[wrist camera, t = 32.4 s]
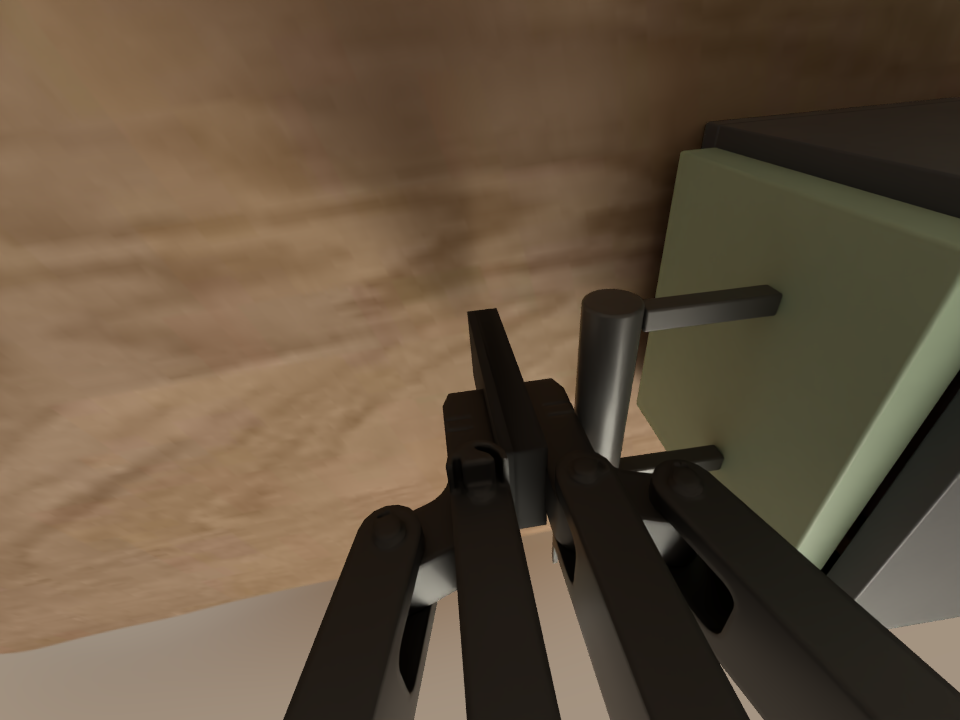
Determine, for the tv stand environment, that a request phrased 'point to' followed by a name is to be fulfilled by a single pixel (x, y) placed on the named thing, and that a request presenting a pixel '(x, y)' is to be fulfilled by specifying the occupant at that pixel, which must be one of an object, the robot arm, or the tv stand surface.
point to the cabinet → (956, 434)
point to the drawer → (780, 342)
